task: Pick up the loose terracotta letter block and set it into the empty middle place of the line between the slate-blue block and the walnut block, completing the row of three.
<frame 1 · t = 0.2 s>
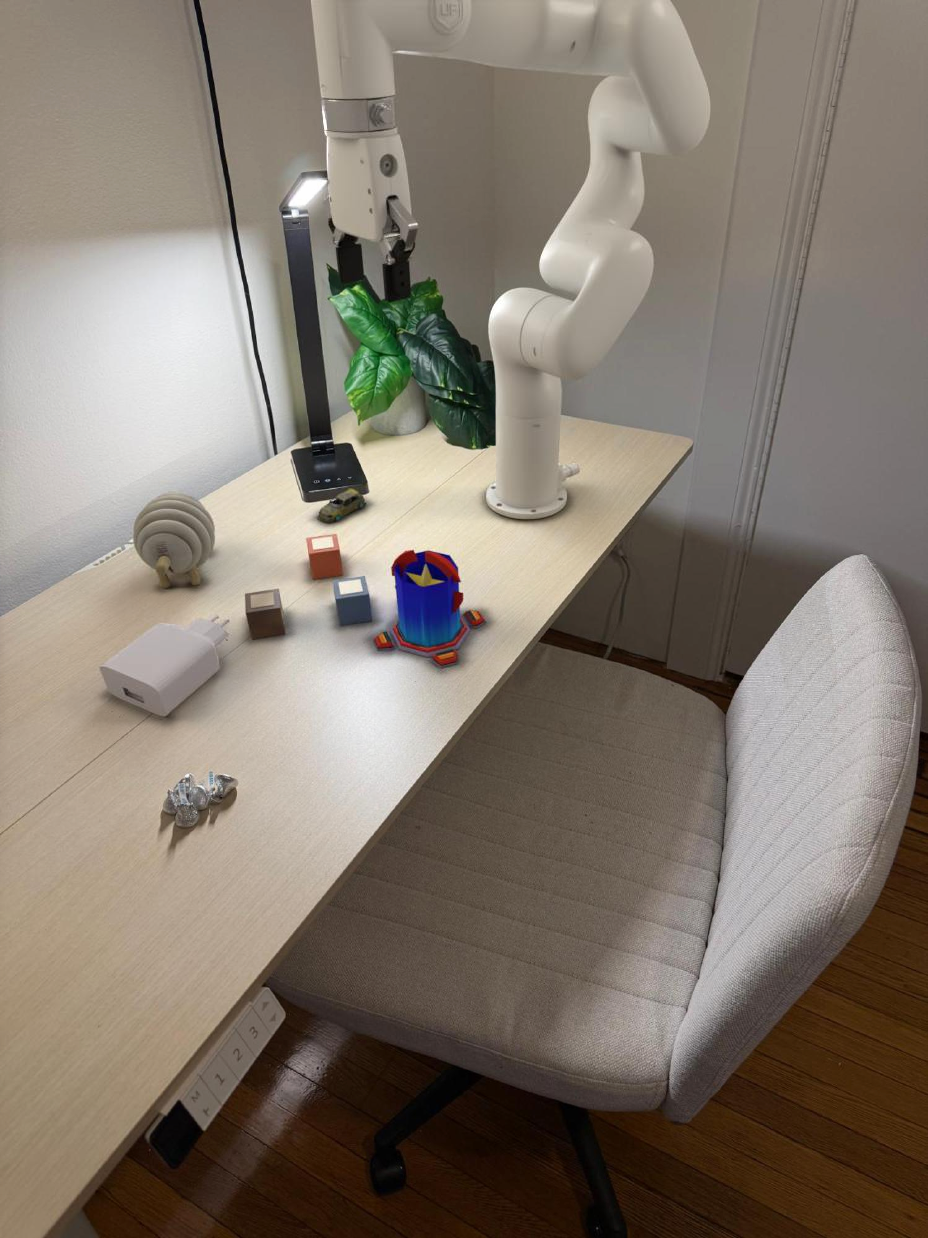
hand: (374, 289, 95), 36 cm above the table, tool pointing down, fingers open, 9 cm apart
race car: (341, 512, 127), on the table
fantasy tower: (430, 632, 103), on the table
toy sheep: (182, 573, 115), on the table
terracotta block: (326, 568, 114), on the table
slate block: (354, 613, 106), on the table
charger: (185, 669, 98), on the table
walnut block: (268, 627, 104), on the table
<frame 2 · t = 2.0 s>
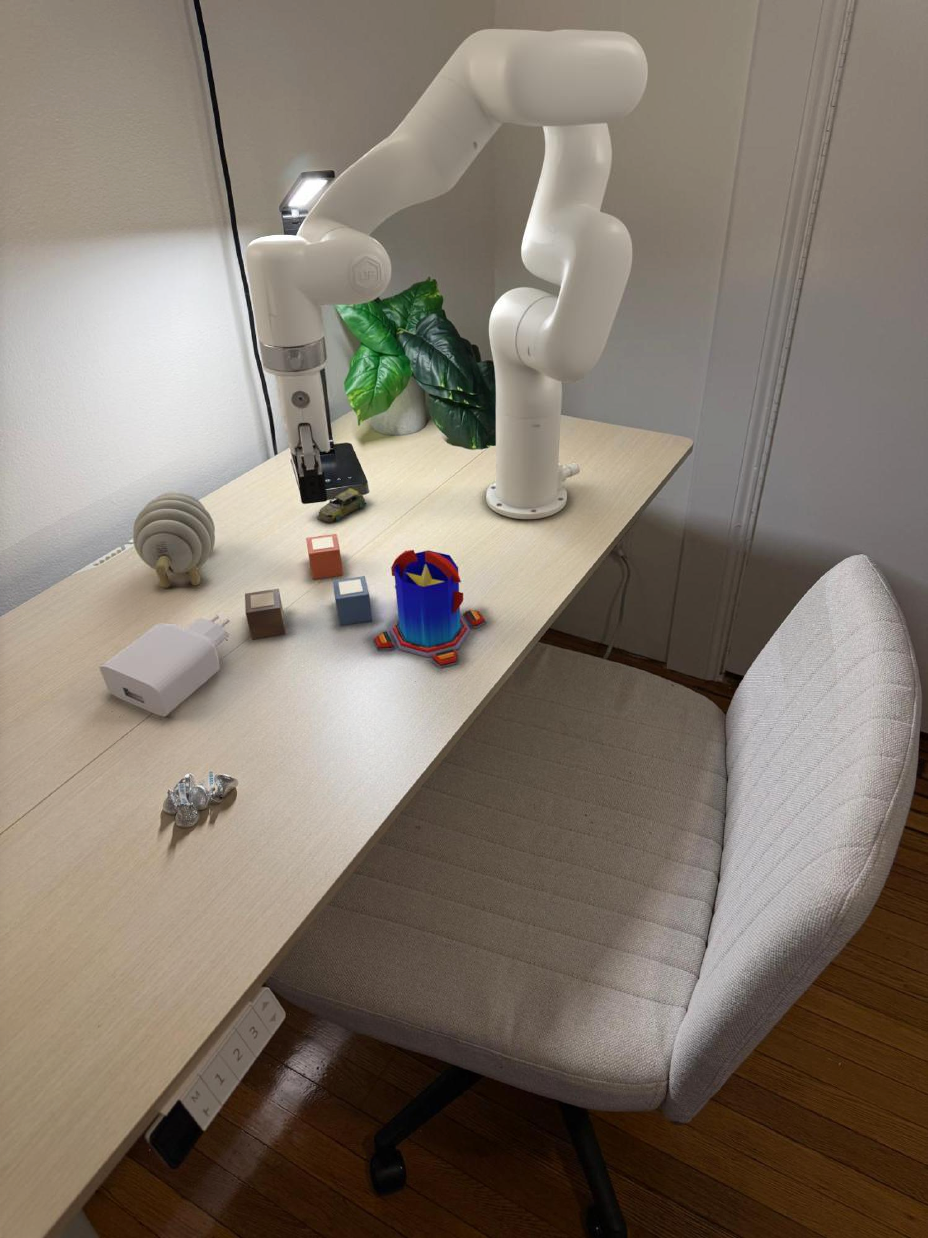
hand: (311, 483, 106), 13 cm above the table, tool pointing down, fingers open, 9 cm apart
nothing on the table moved.
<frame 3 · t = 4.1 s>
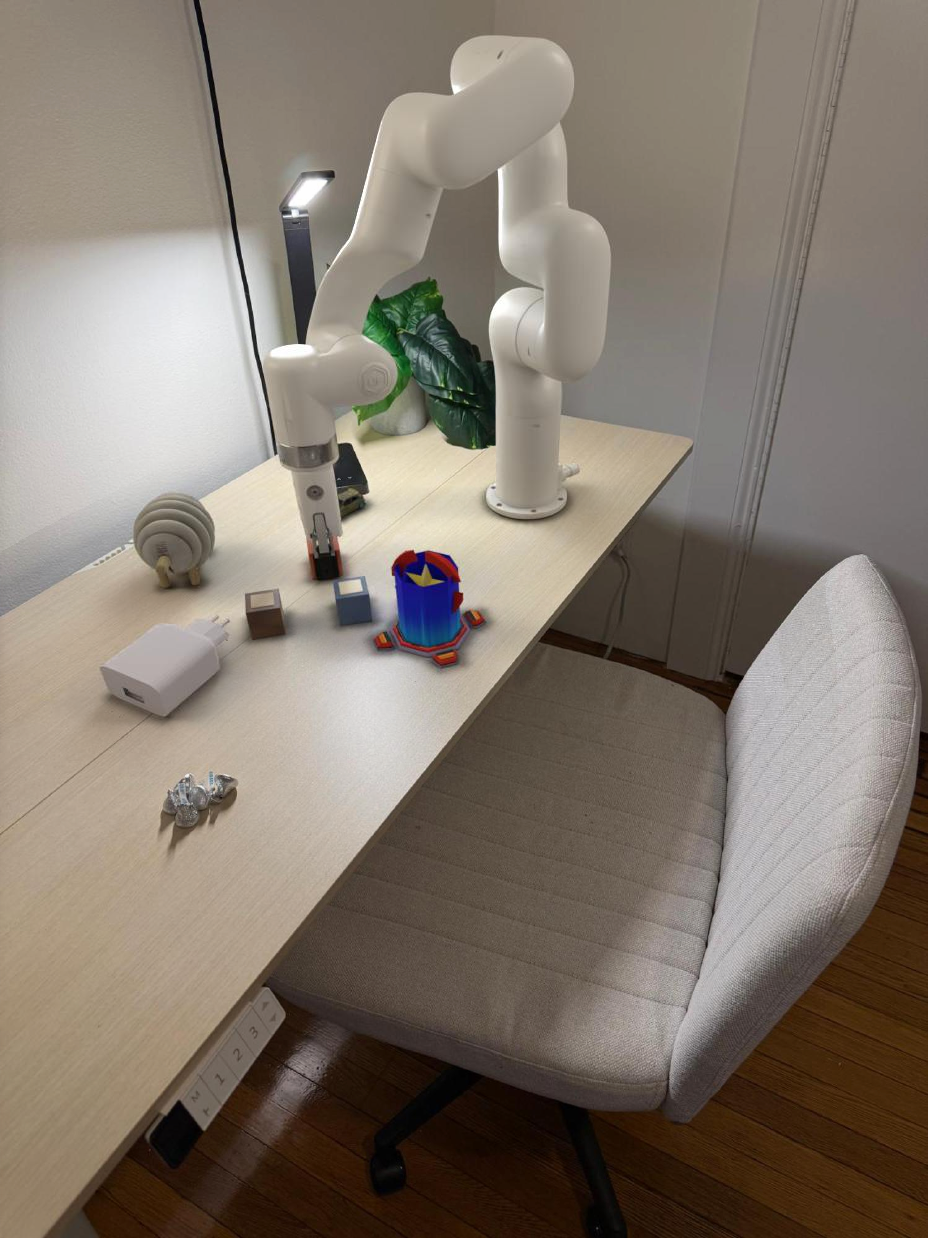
hand: (326, 567, 114), 0 cm above the table, tool pointing down, fingers closed on terracotta block, 4 cm apart
terracotta block: (326, 569, 114), on the table, touching gripper
everything else where it was.
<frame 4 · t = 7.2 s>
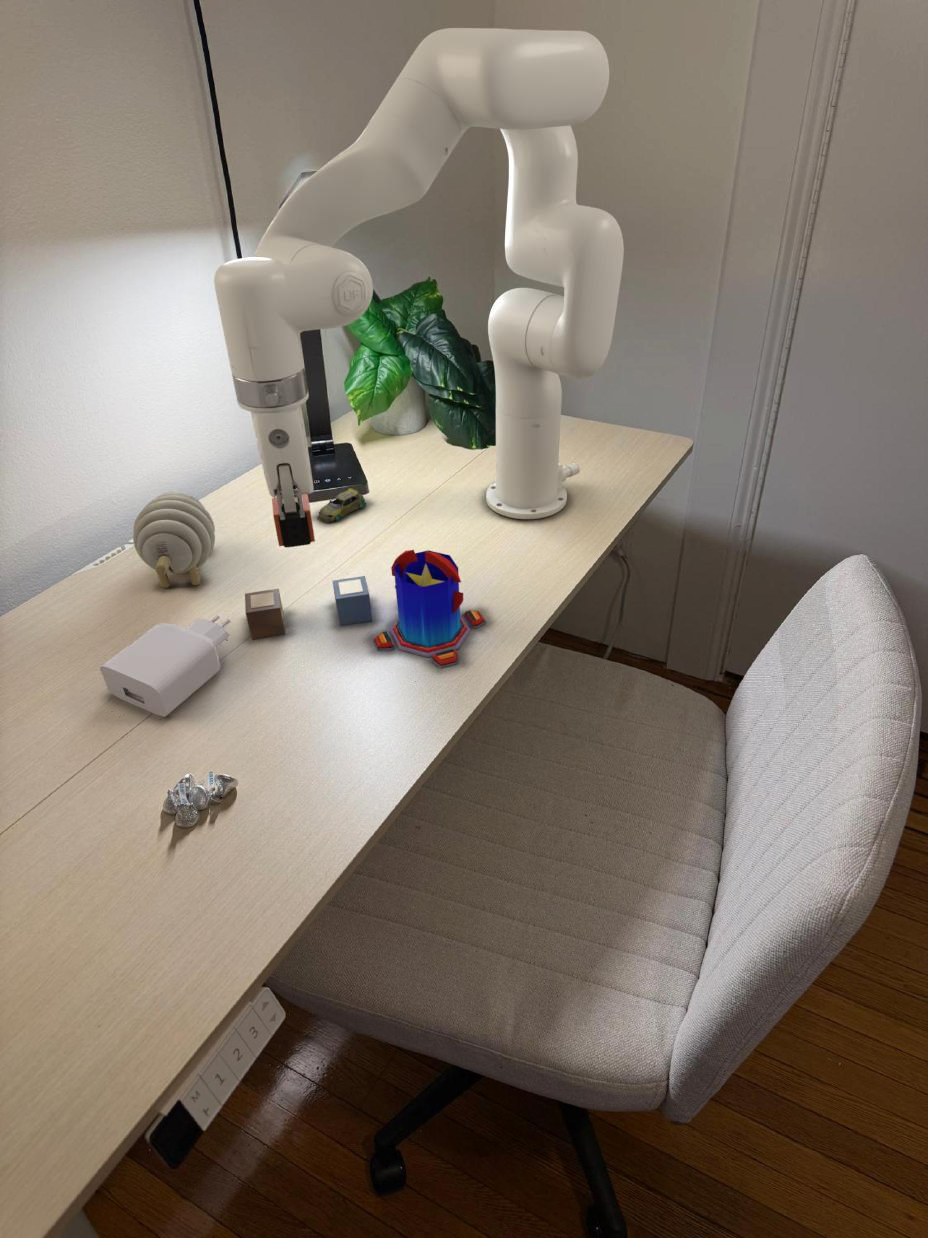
hand: (295, 532, 98), 13 cm above the table, tool pointing down, fingers closed on terracotta block, 4 cm apart
terracotta block: (296, 535, 98), point 13 cm above the table, touching gripper
everything else where it was.
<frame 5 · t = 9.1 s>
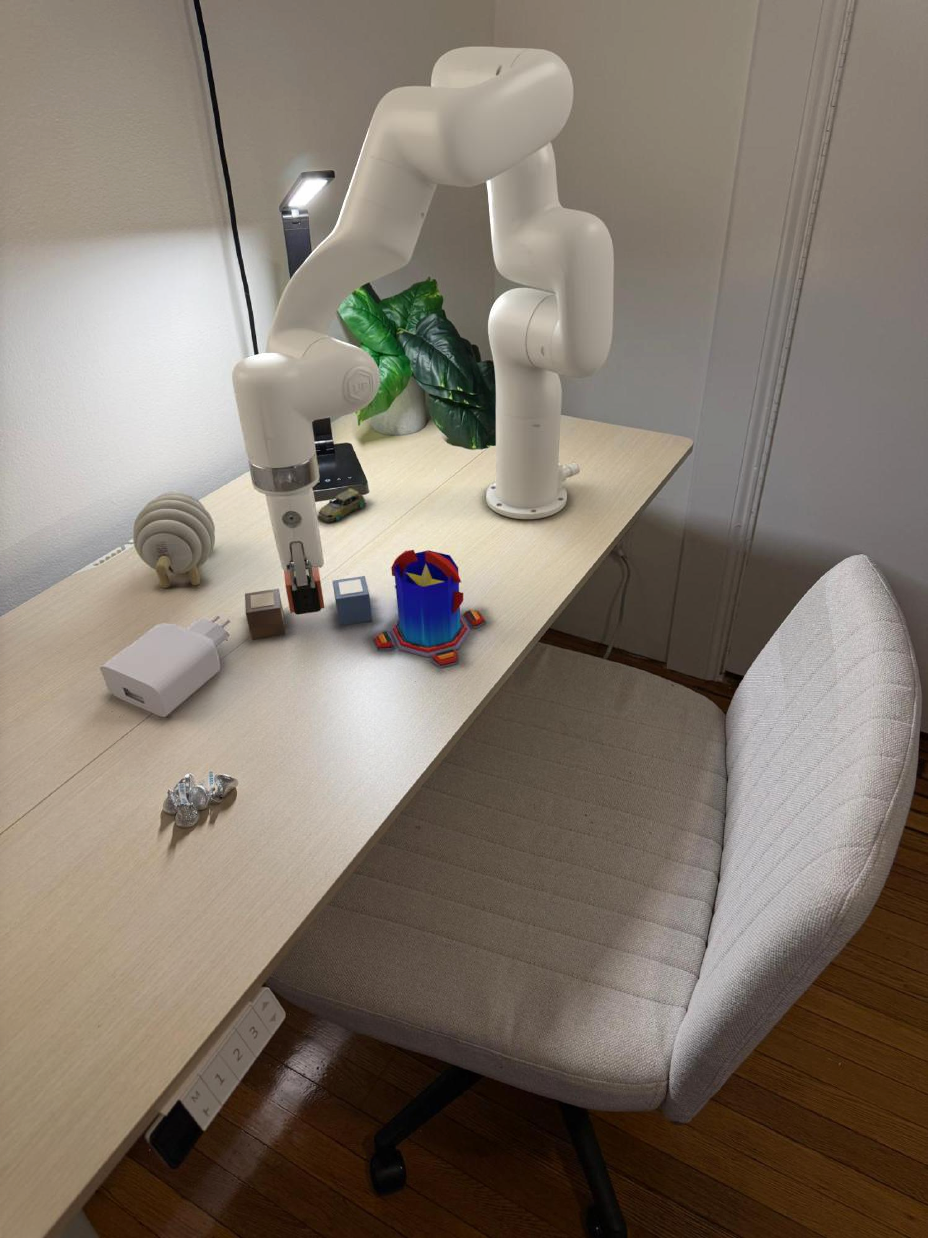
hand: (306, 599, 103), 3 cm above the table, tool pointing down, fingers closed on terracotta block, 4 cm apart
terracotta block: (306, 601, 103), point 3 cm above the table, touching gripper
everything else where it was.
when the fingers open (0 cm above the table, at t = 10.3 s): terracotta block stays where it is, on the table.
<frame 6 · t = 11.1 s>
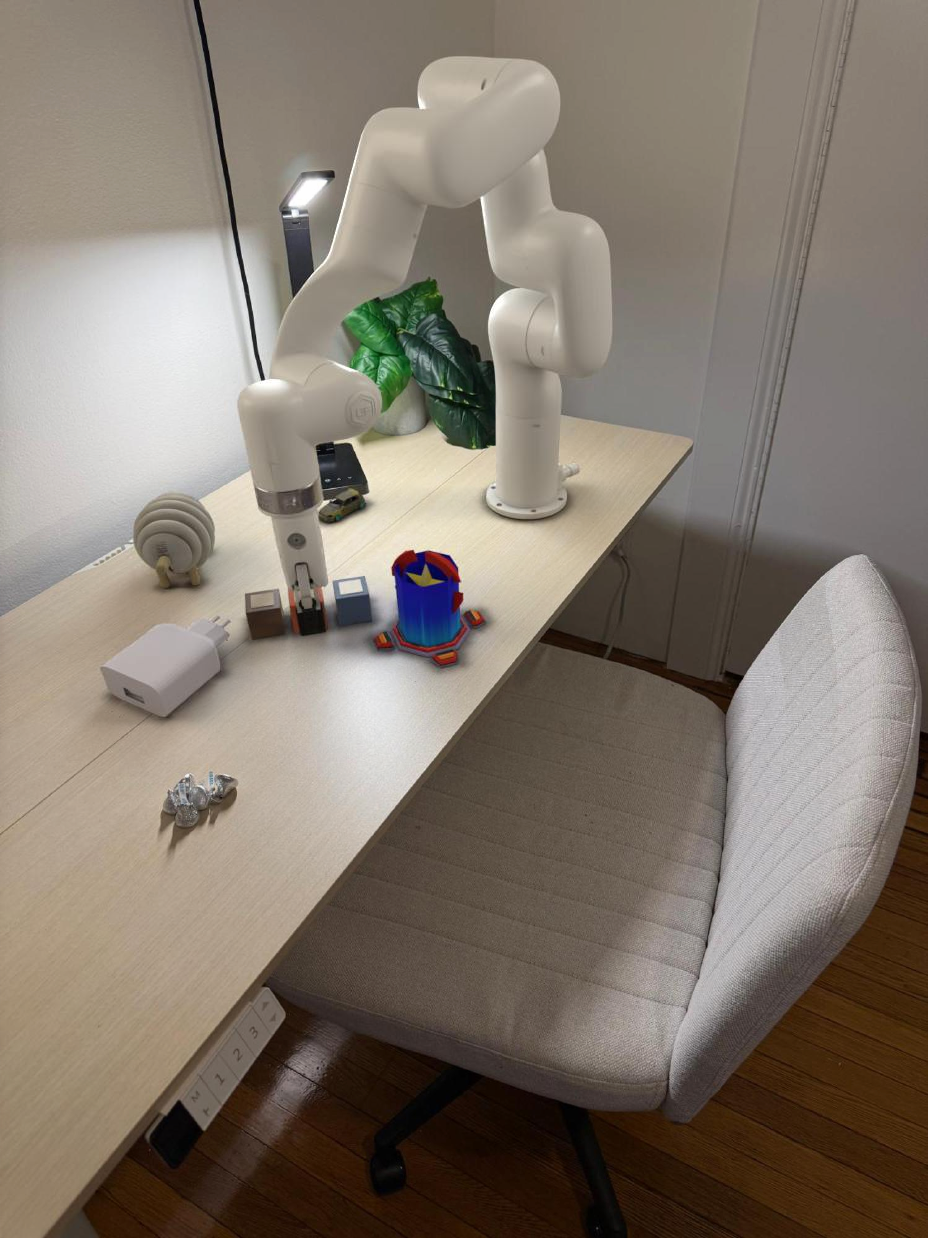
hand: (310, 609, 104), 2 cm above the table, tool pointing down, fingers open, 9 cm apart
terracotta block: (310, 620, 105), on the table
everything else where it was.
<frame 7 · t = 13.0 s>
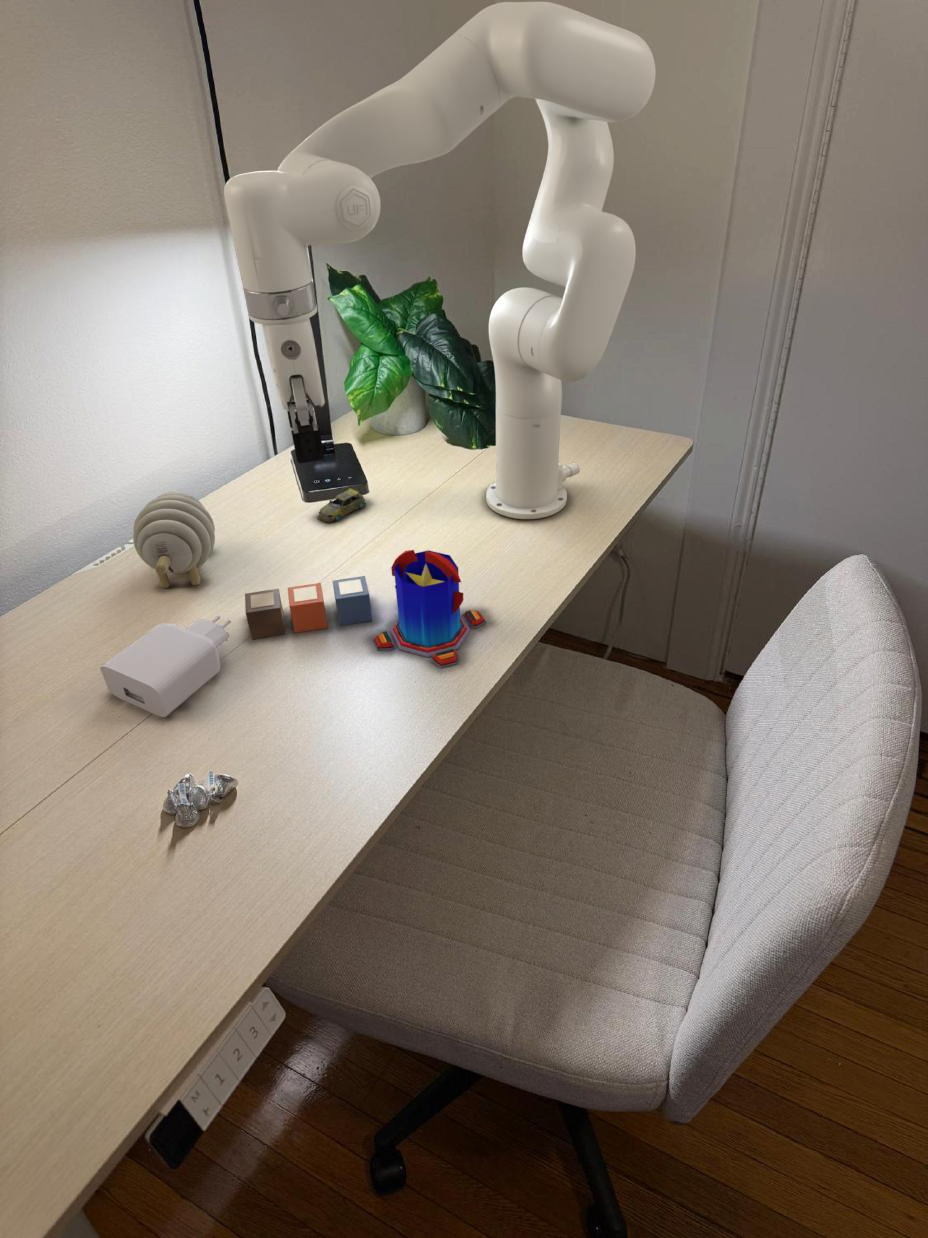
hand: (306, 442, 100), 20 cm above the table, tool pointing down, fingers open, 9 cm apart
nothing on the table moved.
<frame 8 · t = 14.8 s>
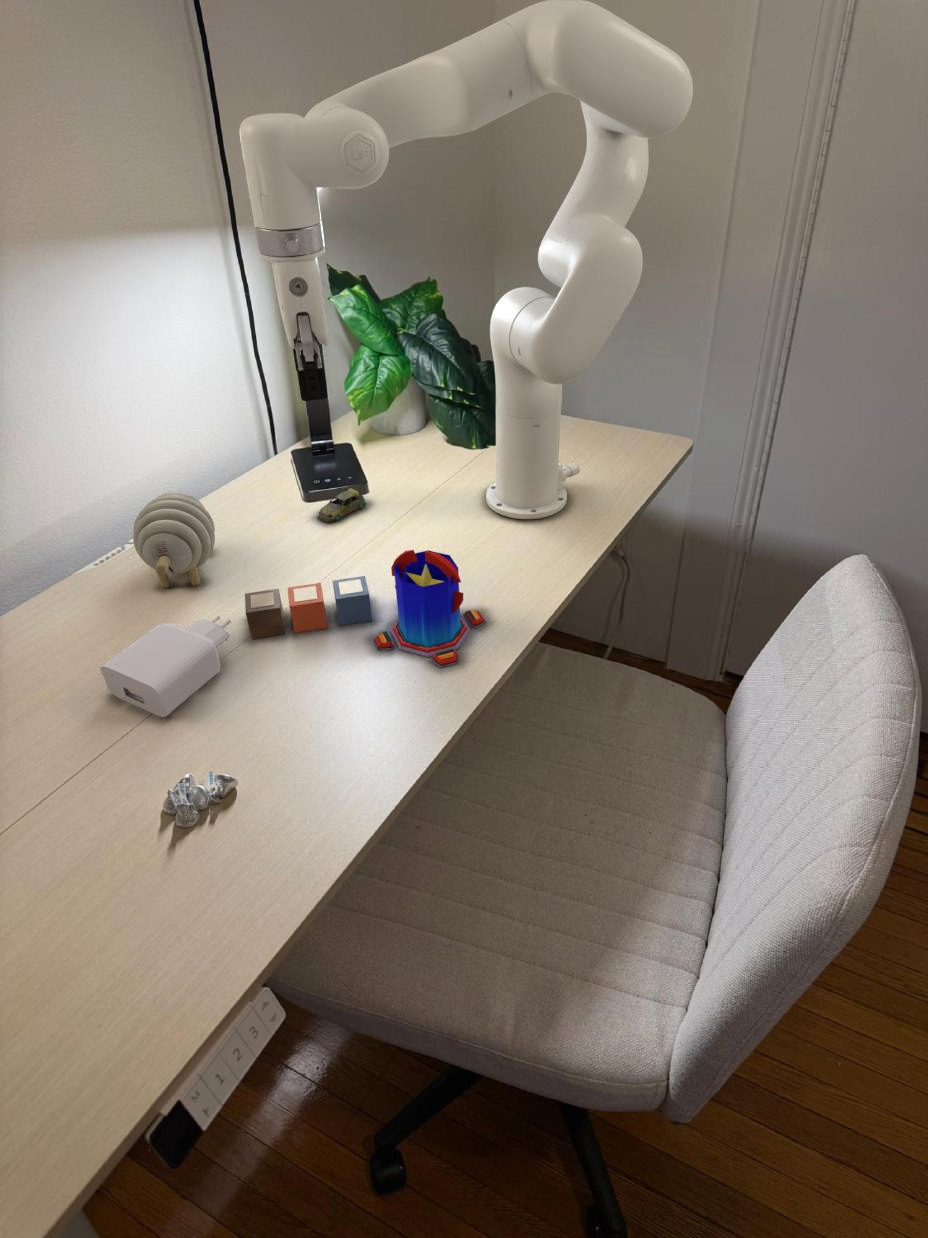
hand: (311, 384, 104), 24 cm above the table, tool pointing down, fingers open, 9 cm apart
nothing on the table moved.
at the end: terracotta block 0.2 cm from the target spot, on the table; terracotta block tilted 0°; slate block 11.0 cm from the walnut block (horizontally) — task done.
